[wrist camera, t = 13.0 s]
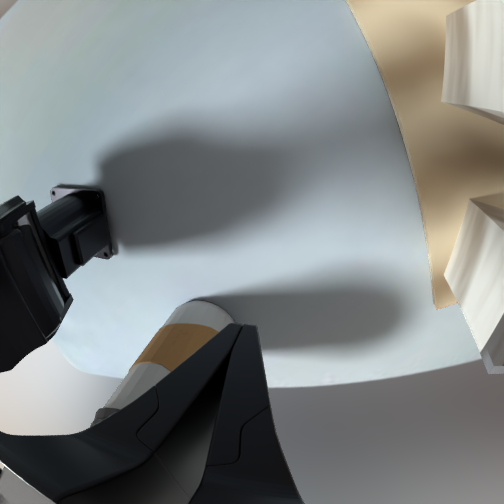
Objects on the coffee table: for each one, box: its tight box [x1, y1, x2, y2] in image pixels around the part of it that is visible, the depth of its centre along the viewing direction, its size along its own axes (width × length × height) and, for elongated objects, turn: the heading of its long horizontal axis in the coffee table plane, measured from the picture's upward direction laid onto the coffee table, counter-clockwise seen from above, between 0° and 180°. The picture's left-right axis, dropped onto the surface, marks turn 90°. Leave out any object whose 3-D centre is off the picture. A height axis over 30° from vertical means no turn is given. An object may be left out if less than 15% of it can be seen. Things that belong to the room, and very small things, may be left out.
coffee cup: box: [90, 301, 234, 427], centre depth 21 cm, size 8×8×15 cm
